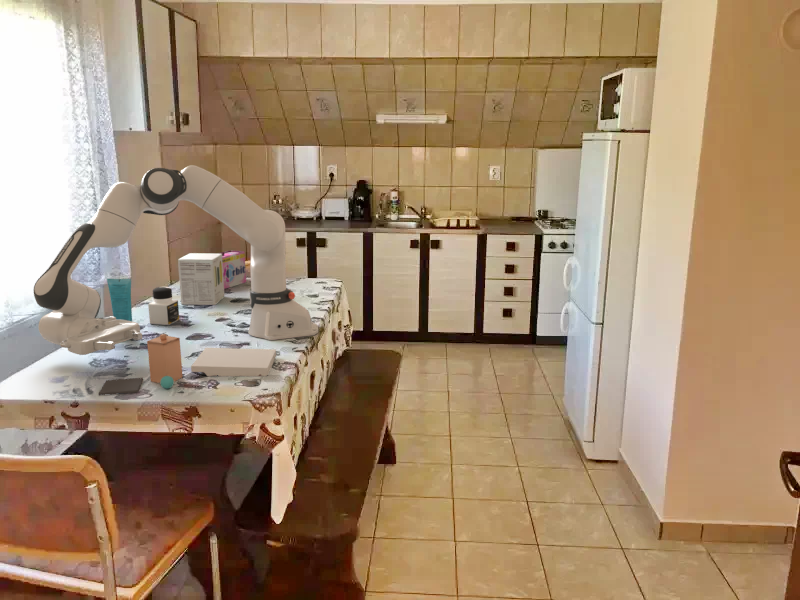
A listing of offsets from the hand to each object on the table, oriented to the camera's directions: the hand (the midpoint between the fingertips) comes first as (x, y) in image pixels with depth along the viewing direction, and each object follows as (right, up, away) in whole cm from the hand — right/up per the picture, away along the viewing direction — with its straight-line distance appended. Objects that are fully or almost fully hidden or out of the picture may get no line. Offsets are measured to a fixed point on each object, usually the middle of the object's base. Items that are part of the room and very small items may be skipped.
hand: (126, 341), depth 176 cm
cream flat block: (+27, -8, +8) cm, 29 cm away
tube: (-14, -1, +32) cm, 35 cm away
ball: (+14, -11, -8) cm, 20 cm away
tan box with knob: (+11, -10, -2) cm, 15 cm away
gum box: (-2, +17, +103) cm, 104 cm away
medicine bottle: (-8, +3, +50) cm, 51 cm away
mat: (+2, -11, -8) cm, 14 cm away
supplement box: (-3, +11, +79) cm, 80 cm away
